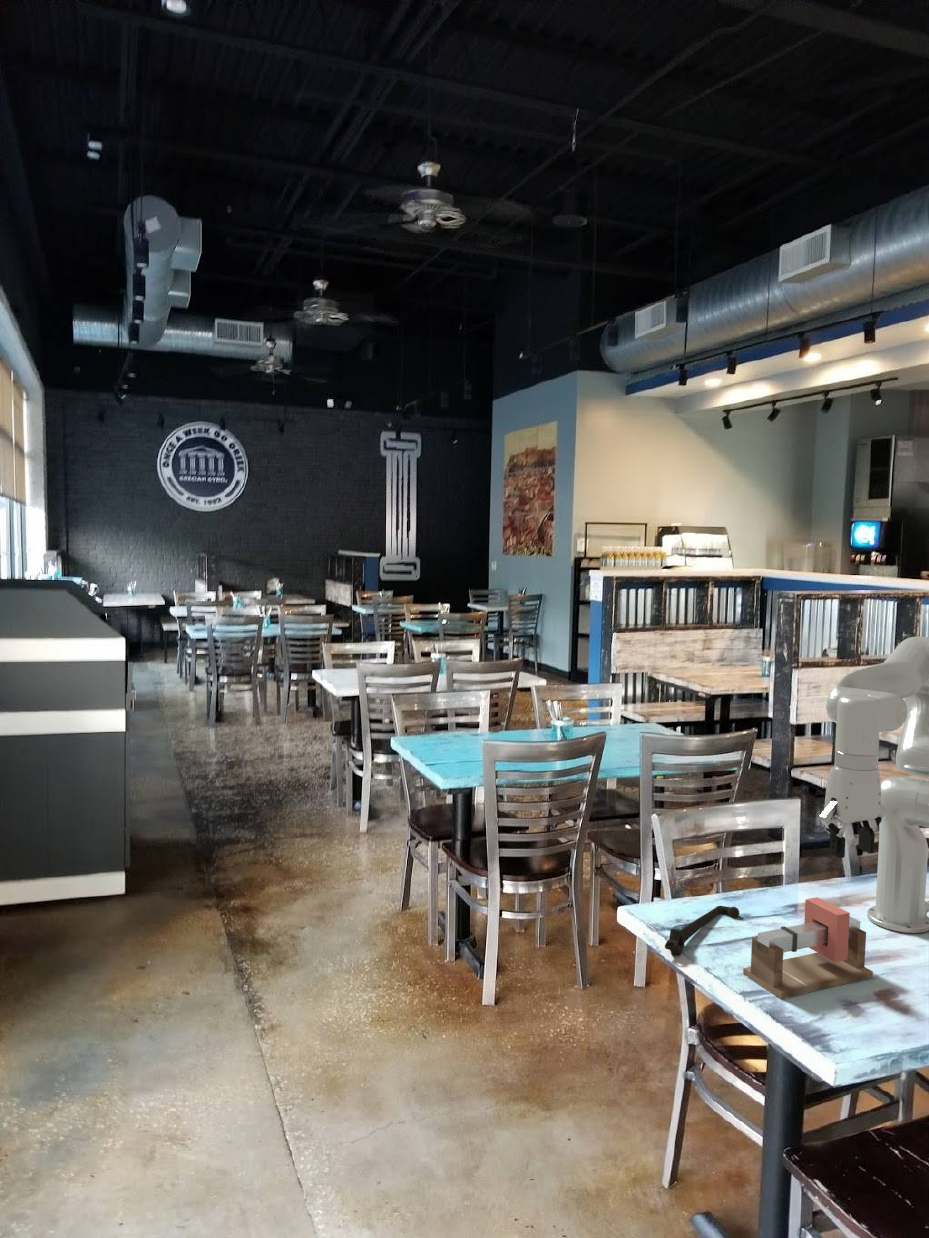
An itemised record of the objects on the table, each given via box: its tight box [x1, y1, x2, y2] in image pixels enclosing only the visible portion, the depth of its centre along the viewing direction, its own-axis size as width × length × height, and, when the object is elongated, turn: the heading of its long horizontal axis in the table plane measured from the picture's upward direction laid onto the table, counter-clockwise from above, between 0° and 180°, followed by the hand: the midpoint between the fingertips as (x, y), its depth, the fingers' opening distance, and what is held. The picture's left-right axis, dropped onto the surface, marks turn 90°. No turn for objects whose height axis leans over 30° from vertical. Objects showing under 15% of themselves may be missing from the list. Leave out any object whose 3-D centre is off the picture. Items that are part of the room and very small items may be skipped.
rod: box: [757, 916, 861, 954], centre depth 170 cm, size 22×3×3 cm, turn 113°
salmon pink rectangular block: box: [803, 896, 851, 962], centre depth 172 cm, size 3×8×9 cm, turn 23°
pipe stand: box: [742, 928, 874, 1000], centre depth 170 cm, size 22×10×8 cm, turn 113°
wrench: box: [664, 905, 740, 957], centre depth 188 cm, size 5×5×30 cm
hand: (851, 852), depth 173 cm, fingers open, 6 cm apart
